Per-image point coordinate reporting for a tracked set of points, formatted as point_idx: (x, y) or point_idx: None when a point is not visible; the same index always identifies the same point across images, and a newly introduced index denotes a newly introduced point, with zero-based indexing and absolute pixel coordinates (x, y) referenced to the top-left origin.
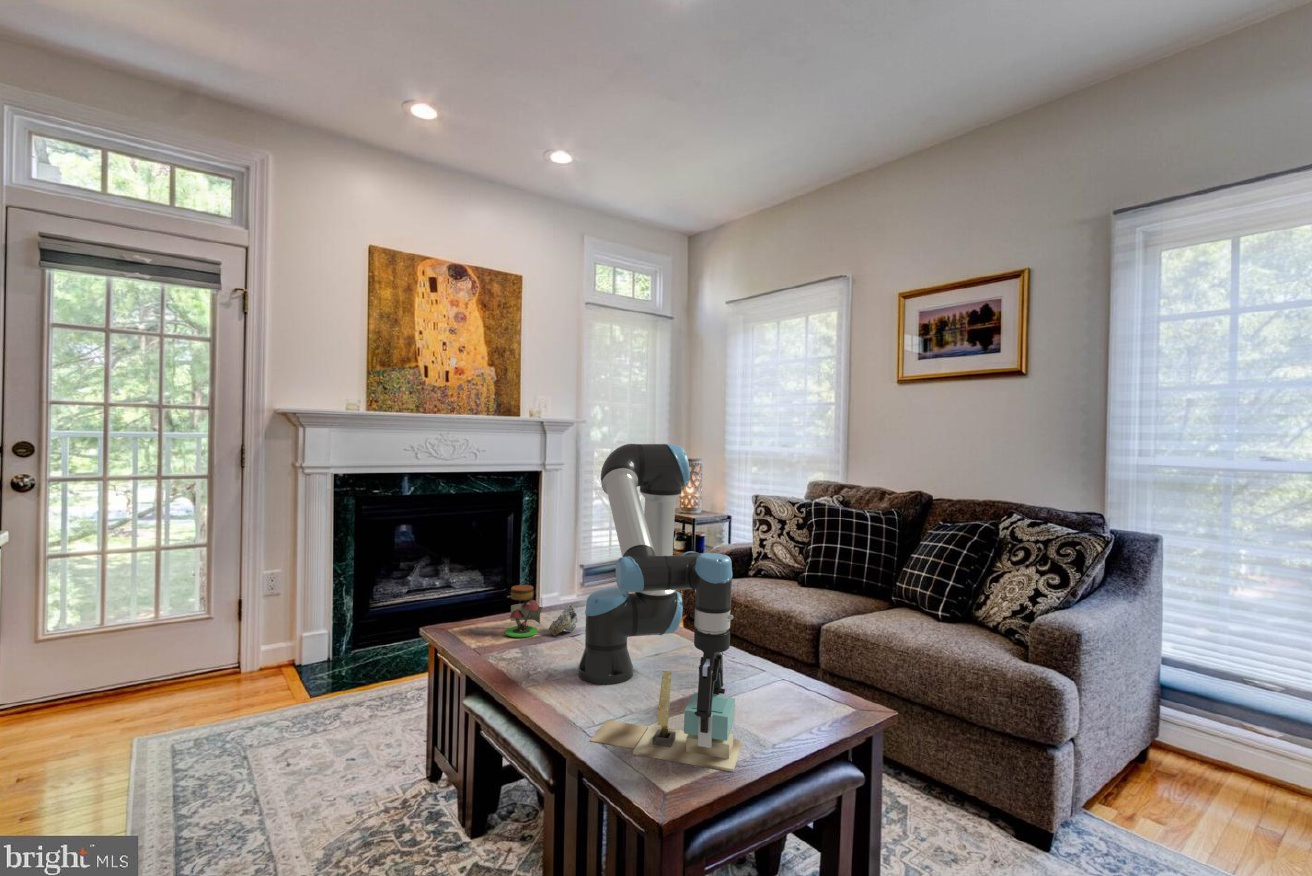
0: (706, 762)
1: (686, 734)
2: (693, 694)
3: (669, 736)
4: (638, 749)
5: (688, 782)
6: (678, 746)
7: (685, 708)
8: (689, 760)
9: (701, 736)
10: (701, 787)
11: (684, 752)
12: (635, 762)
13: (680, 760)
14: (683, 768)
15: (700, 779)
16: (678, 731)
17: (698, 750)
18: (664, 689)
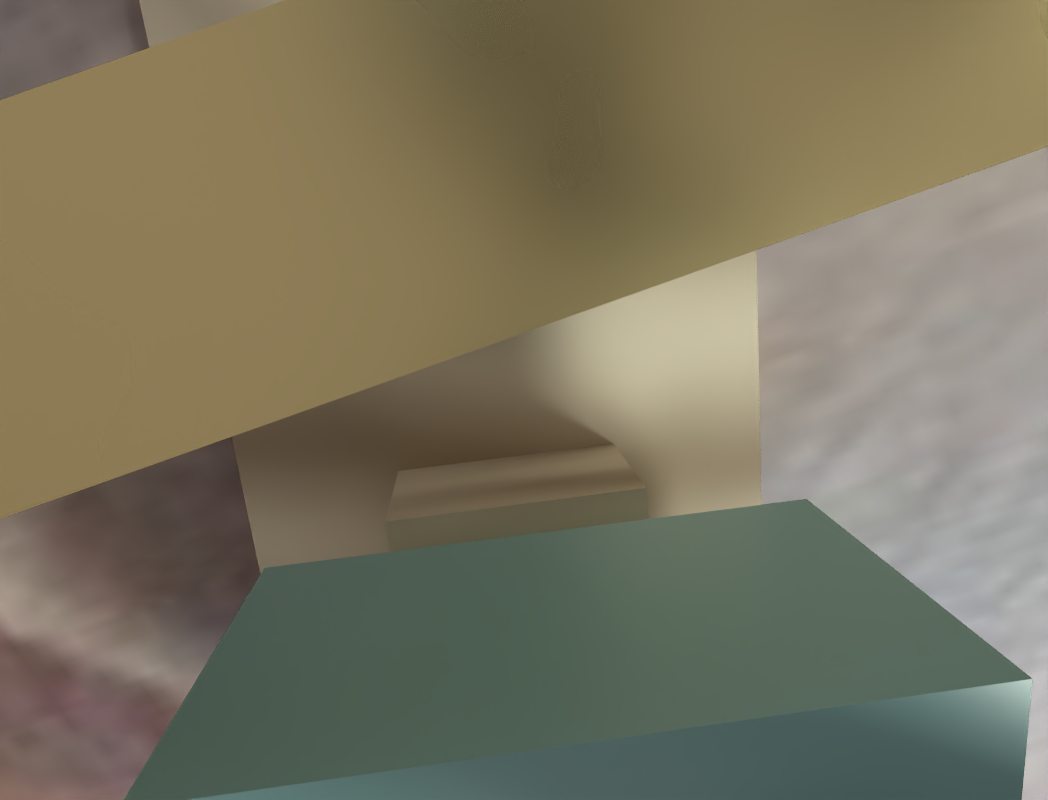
0: None
1: (698, 363)
2: (920, 701)
3: None
4: (196, 14)
5: (8, 626)
6: (450, 376)
7: (208, 797)
8: (271, 547)
9: None
10: (4, 729)
11: (374, 464)
12: (21, 75)
13: (243, 473)
14: (179, 520)
15: (103, 687)
16: (724, 272)
17: None
18: (530, 103)
